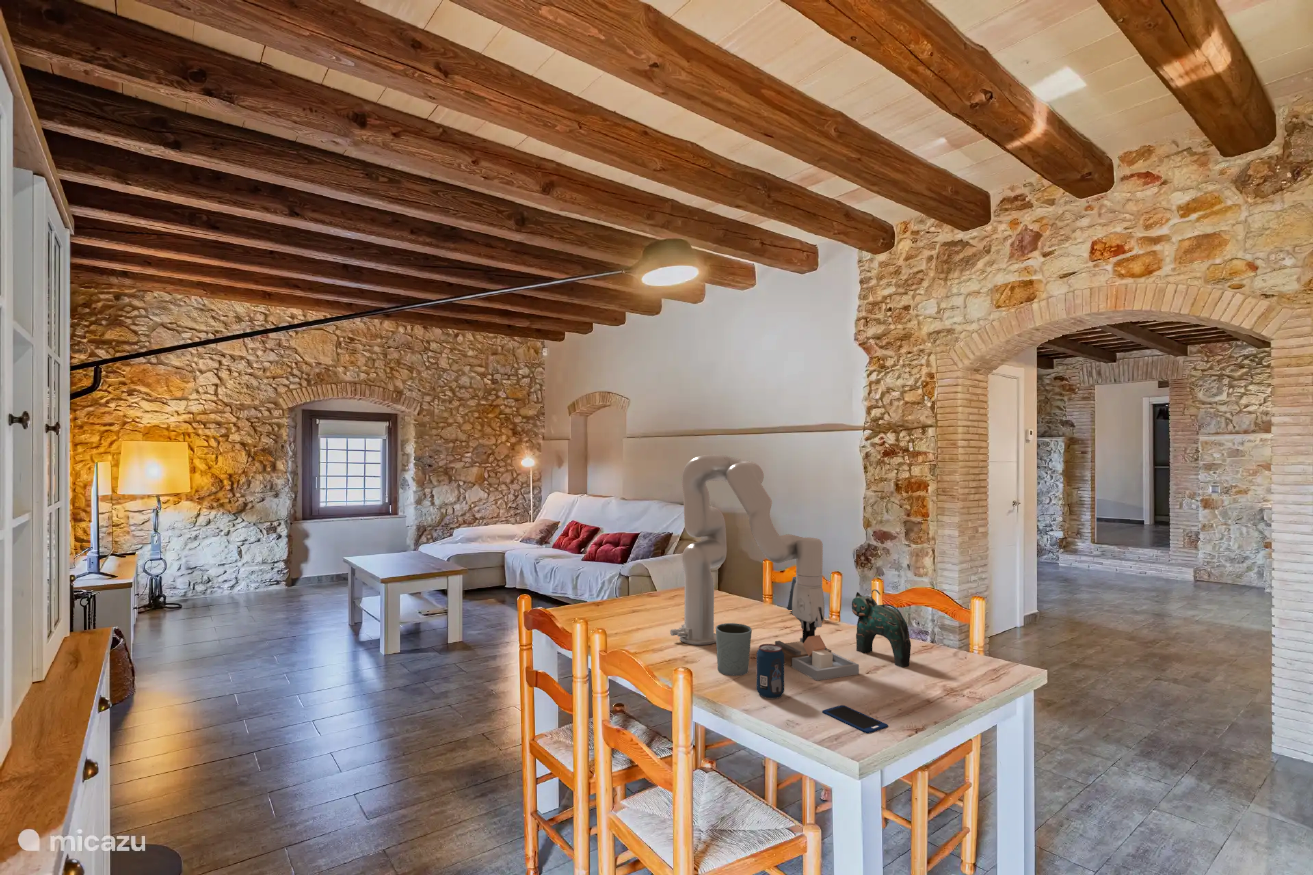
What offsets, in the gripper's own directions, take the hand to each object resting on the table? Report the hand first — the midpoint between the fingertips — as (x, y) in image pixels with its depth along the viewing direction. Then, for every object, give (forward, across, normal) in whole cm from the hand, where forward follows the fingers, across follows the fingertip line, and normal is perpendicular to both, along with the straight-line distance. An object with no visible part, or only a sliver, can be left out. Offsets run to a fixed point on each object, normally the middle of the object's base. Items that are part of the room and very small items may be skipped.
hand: (808, 643), depth 193 cm
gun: (+6, -43, +28) cm, 52 cm away
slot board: (+5, -4, 0) cm, 7 cm away
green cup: (+6, -2, -24) cm, 25 cm away
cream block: (+3, +5, 0) cm, 6 cm away
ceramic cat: (+6, +5, +23) cm, 24 cm away
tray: (+5, +8, 0) cm, 10 cm away
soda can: (+6, +17, -24) cm, 31 cm away
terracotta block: (+1, +2, 0) cm, 2 cm away
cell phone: (+6, +38, -15) cm, 41 cm away
